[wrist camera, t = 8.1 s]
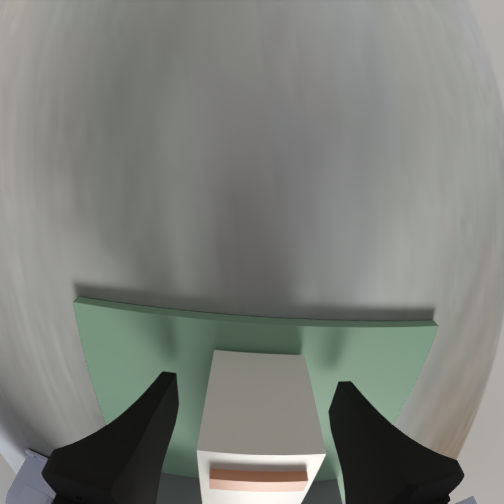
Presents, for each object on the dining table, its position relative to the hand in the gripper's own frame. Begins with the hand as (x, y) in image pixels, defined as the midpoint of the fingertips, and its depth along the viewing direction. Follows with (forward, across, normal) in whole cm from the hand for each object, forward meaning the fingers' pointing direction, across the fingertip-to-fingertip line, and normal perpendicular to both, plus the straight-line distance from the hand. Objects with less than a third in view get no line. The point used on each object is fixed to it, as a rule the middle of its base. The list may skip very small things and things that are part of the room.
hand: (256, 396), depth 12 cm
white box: (+2, 0, +3) cm, 4 cm away
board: (+2, 0, +8) cm, 8 cm away
